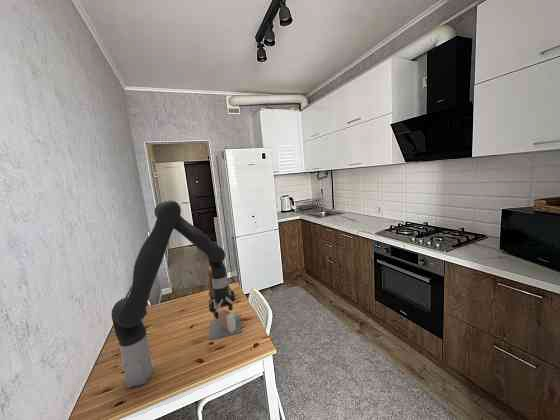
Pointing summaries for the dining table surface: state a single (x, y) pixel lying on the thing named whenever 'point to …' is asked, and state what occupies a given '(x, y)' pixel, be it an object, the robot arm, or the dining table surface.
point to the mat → (223, 329)
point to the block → (226, 320)
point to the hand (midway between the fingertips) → (223, 313)
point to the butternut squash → (212, 285)
